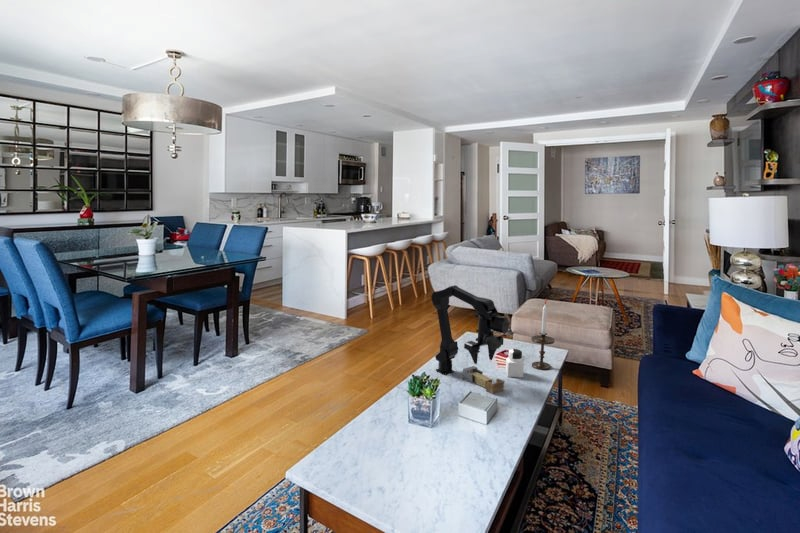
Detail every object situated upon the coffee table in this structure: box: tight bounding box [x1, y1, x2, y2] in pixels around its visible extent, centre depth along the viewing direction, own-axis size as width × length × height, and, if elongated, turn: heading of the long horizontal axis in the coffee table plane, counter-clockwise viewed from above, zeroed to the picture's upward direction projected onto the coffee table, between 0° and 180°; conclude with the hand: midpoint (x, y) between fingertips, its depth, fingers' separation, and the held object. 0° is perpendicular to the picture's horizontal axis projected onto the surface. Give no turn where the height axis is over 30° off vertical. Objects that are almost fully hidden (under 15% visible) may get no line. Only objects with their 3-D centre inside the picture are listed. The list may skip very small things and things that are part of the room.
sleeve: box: [462, 365, 484, 384], centre depth 201 cm, size 6×7×5 cm
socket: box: [485, 378, 505, 395], centre depth 189 cm, size 4×7×4 cm, turn 123°
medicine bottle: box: [505, 348, 525, 378], centre depth 207 cm, size 7×7×12 cm
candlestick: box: [531, 298, 556, 371], centre depth 215 cm, size 11×11×35 cm
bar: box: [469, 370, 493, 389], centre depth 198 cm, size 13×4×3 cm, turn 33°
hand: (483, 361), depth 195 cm, fingers open, 9 cm apart
